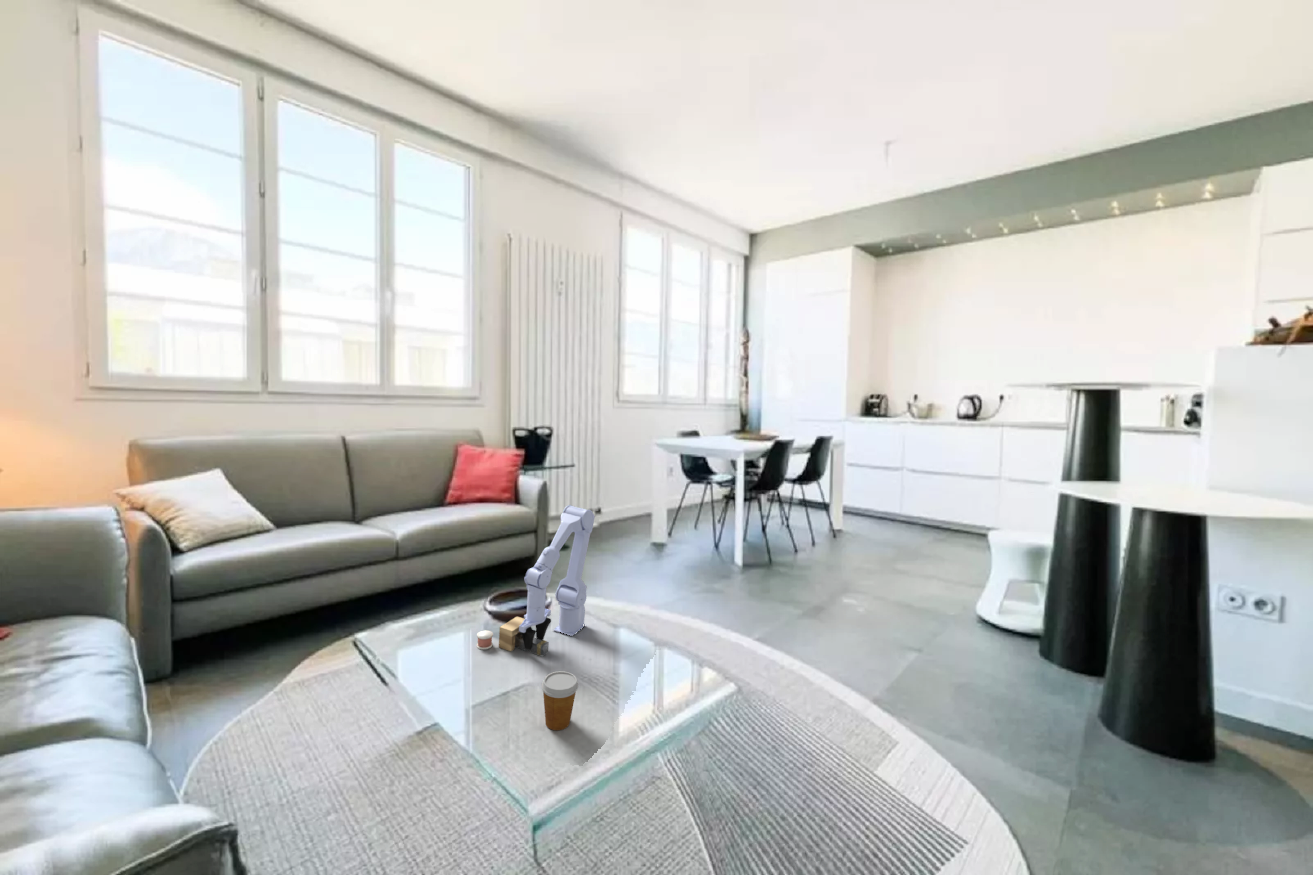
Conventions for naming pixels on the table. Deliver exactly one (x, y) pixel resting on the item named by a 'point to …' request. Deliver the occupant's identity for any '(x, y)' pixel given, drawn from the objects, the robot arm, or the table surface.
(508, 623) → the wooden u-shaped cradle
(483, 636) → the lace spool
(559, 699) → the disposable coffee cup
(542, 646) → the dark grey bar
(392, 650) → the table surface
